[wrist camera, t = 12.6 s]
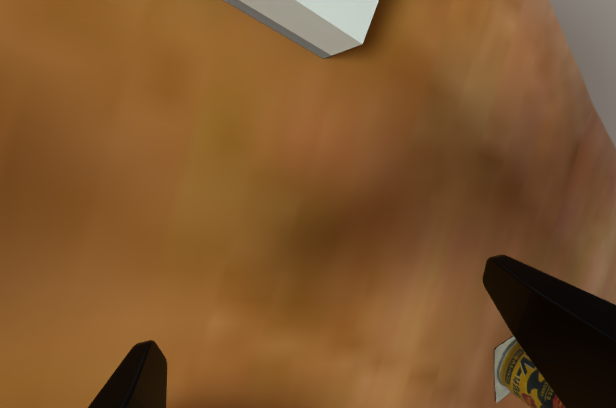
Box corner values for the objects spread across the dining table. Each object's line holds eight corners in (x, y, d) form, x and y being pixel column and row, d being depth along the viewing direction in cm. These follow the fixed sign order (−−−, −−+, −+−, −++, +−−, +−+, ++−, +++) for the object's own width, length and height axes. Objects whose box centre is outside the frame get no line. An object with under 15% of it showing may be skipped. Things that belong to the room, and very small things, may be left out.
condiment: (492, 348, 32) (656, 460, 22) (548, 312, 35) (717, 395, 24) (493, 401, 35) (641, 525, 24) (545, 363, 38) (698, 460, 27)
